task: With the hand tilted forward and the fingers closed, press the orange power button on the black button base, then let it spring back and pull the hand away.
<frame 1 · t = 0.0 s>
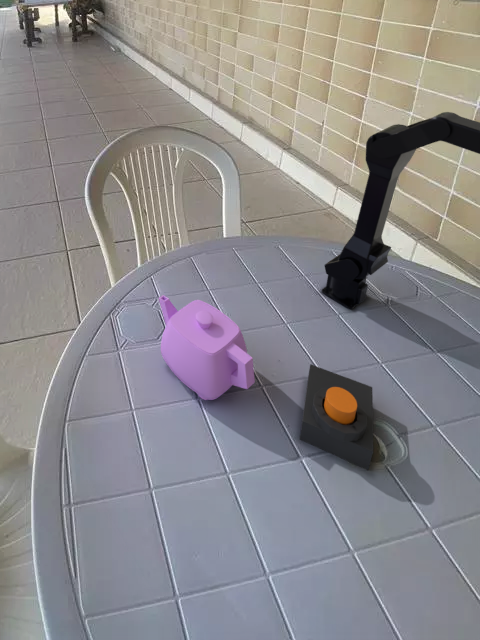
teapot: (201, 369, 77), on the table
button base: (334, 421, 67), on the table
power button: (340, 405, 63), point 7 cm above the table, slide at 0.1 cm
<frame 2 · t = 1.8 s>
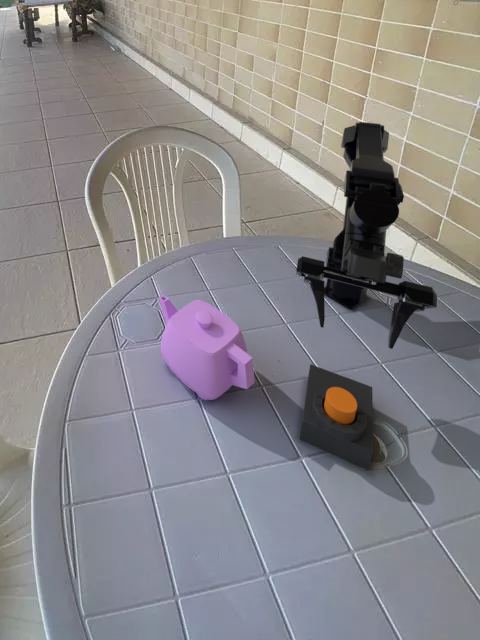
hand: (355, 337, 66), 13 cm above the table, tool tilted 45°, fingers open, 9 cm apart
nothing on the table moved.
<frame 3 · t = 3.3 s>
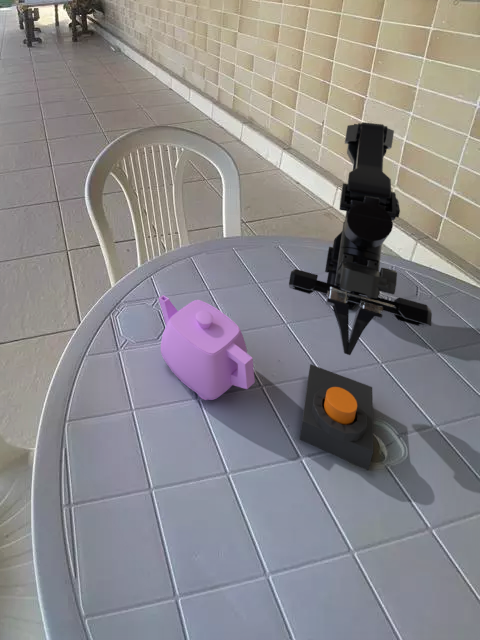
hand: (347, 354, 64), 12 cm above the table, tool tilted 45°, fingers closed
nothing on the table moved.
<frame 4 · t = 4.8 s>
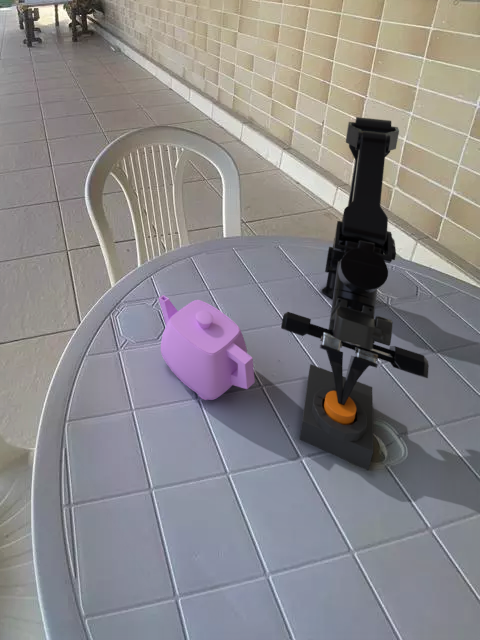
hand: (340, 404, 62), 8 cm above the table, tool tilted 45°, fingers closed, pressing on power button
power button: (339, 409, 63), point 6 cm above the table, slide at -0.7 cm, touching gripper
everything else where it was.
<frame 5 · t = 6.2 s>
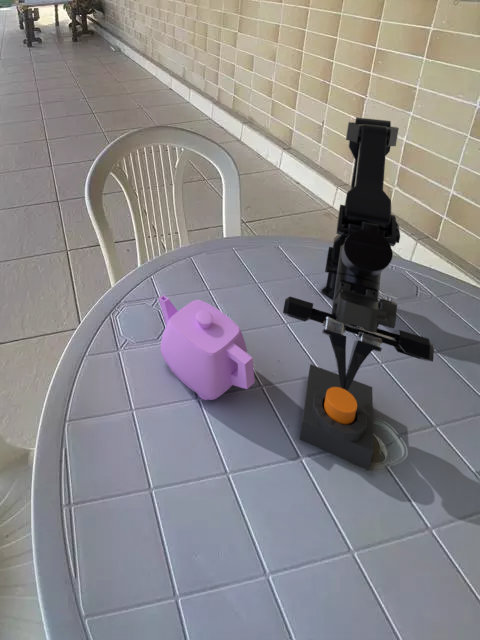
hand: (344, 389, 61), 11 cm above the table, tool tilted 45°, fingers closed
power button: (340, 405, 63), point 7 cm above the table, slide at 0.1 cm
everything else where it was.
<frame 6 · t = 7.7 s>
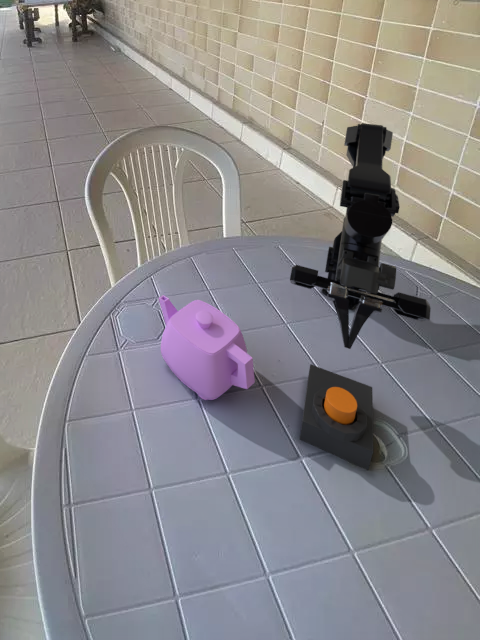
hand: (347, 348, 65), 12 cm above the table, tool tilted 45°, fingers closed
nothing on the table moved.
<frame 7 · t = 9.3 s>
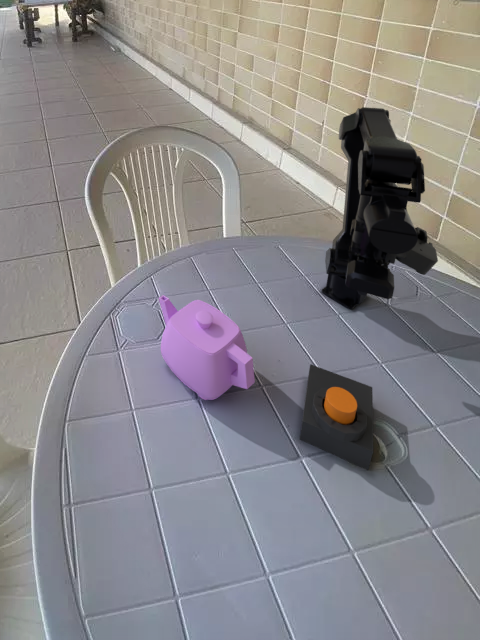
hand: (362, 293, 75), 13 cm above the table, tool pointing down, fingers closed
nothing on the table moved.
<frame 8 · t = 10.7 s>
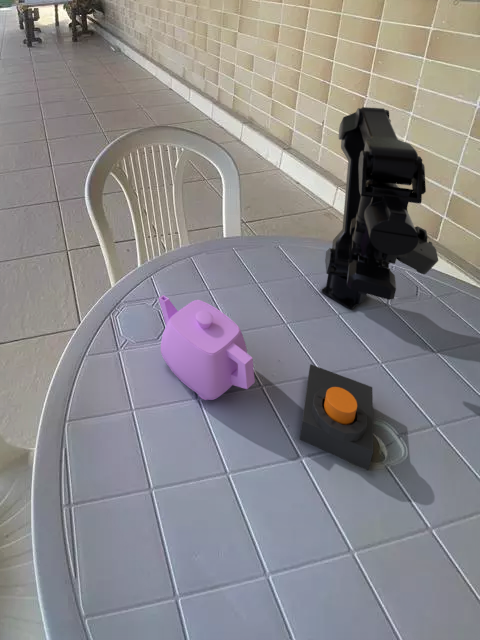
hand: (362, 292, 75), 13 cm above the table, tool pointing down, fingers closed
nothing on the table moved.
at the end: power button pushed in 1.3 cm at the most during the clip, back to where it started at the end; power button slide at 0.1 cm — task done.
